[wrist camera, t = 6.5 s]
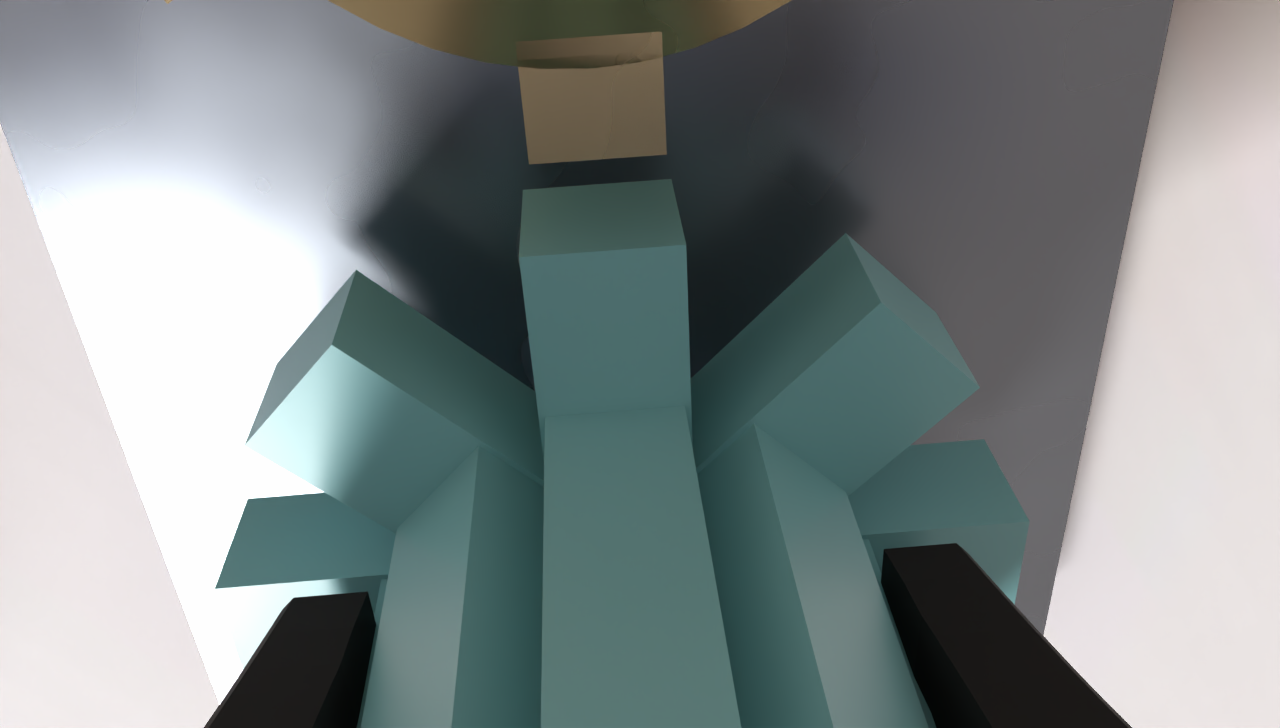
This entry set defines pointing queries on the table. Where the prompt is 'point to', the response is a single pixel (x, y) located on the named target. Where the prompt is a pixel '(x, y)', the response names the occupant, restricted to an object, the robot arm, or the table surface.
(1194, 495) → the table surface
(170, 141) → the carrier
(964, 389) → the gear
